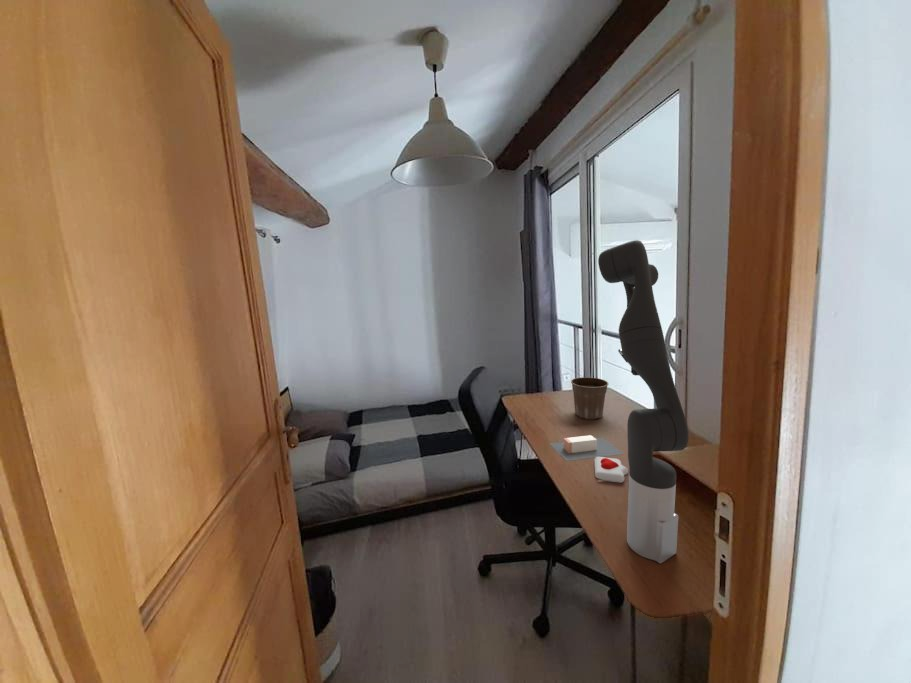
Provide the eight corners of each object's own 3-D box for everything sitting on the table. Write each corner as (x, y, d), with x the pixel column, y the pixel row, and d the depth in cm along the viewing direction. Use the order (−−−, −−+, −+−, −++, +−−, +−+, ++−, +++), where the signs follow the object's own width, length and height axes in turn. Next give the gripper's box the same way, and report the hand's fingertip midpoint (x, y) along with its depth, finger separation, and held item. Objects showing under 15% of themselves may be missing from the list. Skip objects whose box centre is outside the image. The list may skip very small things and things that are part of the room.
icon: (631, 472, 105) (595, 468, 108) (630, 486, 105) (595, 481, 109) (626, 454, 116) (594, 450, 120) (626, 466, 117) (594, 462, 120)
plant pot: (609, 423, 152) (610, 387, 150) (570, 420, 157) (570, 385, 155) (606, 410, 167) (606, 378, 165) (570, 407, 173) (571, 376, 170)
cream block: (591, 435, 130) (563, 438, 129) (596, 439, 126) (568, 442, 125) (590, 445, 131) (563, 448, 129) (596, 449, 127) (568, 453, 125)
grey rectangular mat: (601, 438, 137) (601, 437, 137) (624, 455, 123) (624, 453, 123) (549, 445, 134) (549, 443, 134) (566, 462, 120) (566, 460, 120)
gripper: (647, 323, 122) (645, 371, 125) (613, 325, 121) (612, 373, 123) (663, 325, 115) (660, 376, 118) (627, 327, 113) (625, 379, 116)
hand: (635, 374), depth 120 cm, fingers closed
